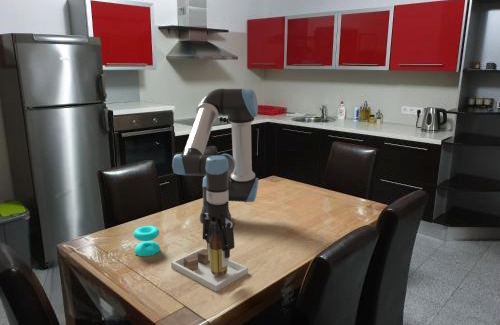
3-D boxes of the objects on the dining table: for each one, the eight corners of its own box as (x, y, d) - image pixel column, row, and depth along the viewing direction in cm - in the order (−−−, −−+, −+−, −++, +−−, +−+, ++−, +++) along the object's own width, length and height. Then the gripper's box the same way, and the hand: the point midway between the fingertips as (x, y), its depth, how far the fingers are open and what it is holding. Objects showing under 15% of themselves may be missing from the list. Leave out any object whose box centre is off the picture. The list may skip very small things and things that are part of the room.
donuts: (160, 232, 153) (134, 236, 150) (161, 255, 155) (136, 260, 152) (157, 223, 162) (132, 226, 159) (158, 245, 164) (133, 248, 161)
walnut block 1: (183, 267, 145) (183, 257, 144) (193, 264, 147) (193, 254, 146) (188, 272, 142) (188, 262, 141) (198, 269, 144) (198, 259, 143)
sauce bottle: (227, 267, 143) (227, 217, 138) (227, 276, 137) (227, 224, 132) (209, 267, 143) (209, 217, 138) (208, 276, 137) (207, 224, 132)
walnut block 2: (197, 262, 149) (197, 252, 148) (204, 257, 152) (203, 248, 151) (206, 264, 147) (205, 255, 146) (212, 260, 150) (212, 251, 149)
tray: (171, 269, 145) (171, 262, 145) (203, 254, 157) (203, 247, 156) (216, 293, 130) (216, 285, 129) (247, 275, 142) (247, 267, 141)
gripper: (190, 197, 137) (192, 257, 142) (230, 211, 124) (230, 275, 130) (206, 192, 142) (207, 250, 148) (245, 204, 130) (245, 267, 136)
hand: (218, 262), depth 139 cm, fingers closed on sauce bottle, 6 cm apart
